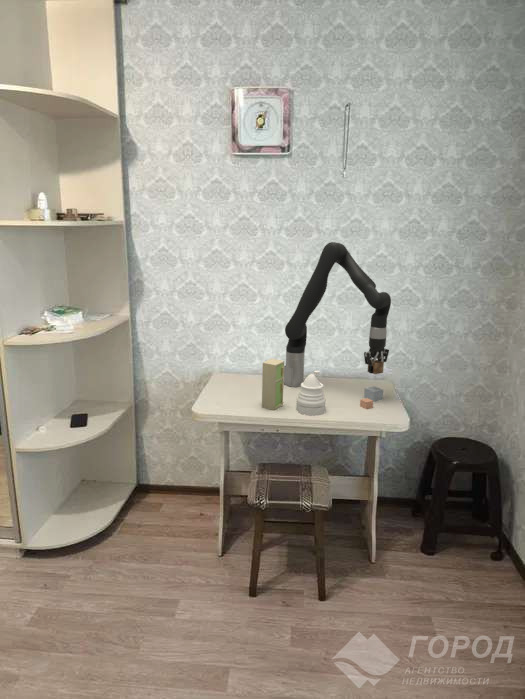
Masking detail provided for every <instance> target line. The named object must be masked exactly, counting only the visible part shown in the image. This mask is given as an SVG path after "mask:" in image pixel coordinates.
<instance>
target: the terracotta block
mask: <svg viewBox="0 0 525 699" xmlns="http://www.w3.org/2000/svg"><path fill="white" fill-rule="evenodd" d="M359 401H360V402H359V403H360V404H359V407H361V408H362V409H365V410H369V409H372V408H374V403H373V400H370V399H368V398H365V399H363V398H361V399H360V400H359Z"/></svg>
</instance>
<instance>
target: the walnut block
mask: <svg viewBox="0 0 525 699" xmlns="http://www.w3.org/2000/svg"><path fill="white" fill-rule="evenodd" d="M371 363H372V361H371ZM384 366H385V362H381V361H378V359H376V361H375V362H374V365H373V373H372V374H373V375H378V374H379V375H380V374H383V373H384ZM368 367H369V365H368V364H367V368H368ZM367 372H368V370H367ZM368 373H369V372H368Z"/></svg>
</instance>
